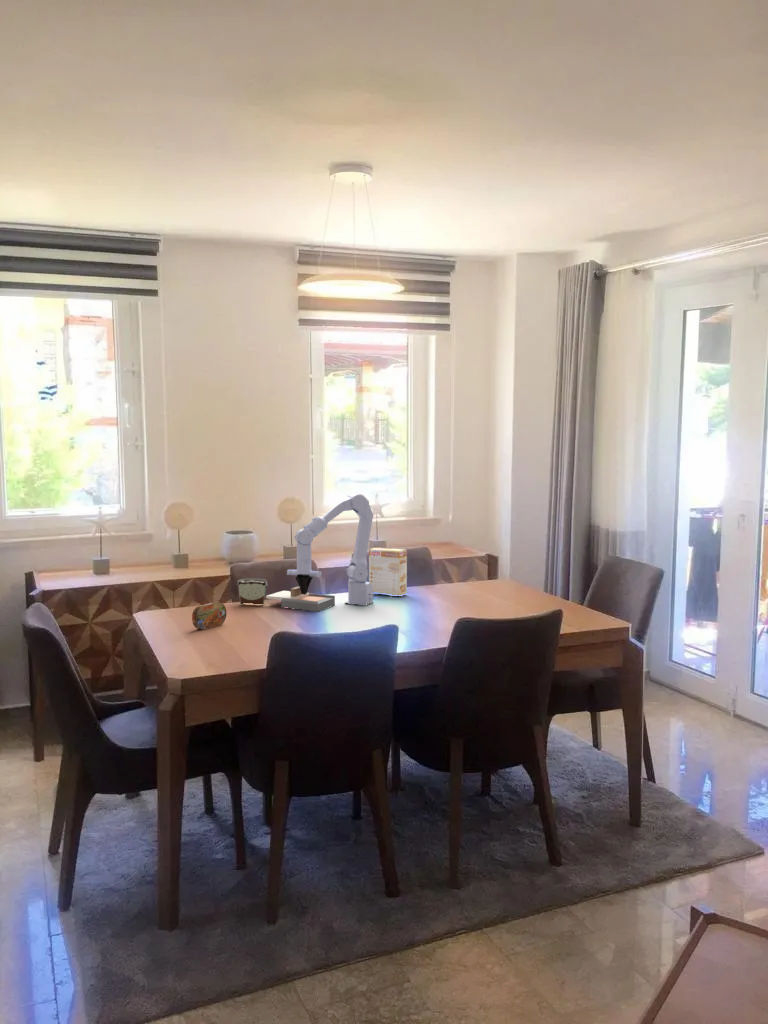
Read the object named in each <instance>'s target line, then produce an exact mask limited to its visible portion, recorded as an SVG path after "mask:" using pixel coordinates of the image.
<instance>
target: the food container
mask: <svg viewBox="0 0 768 1024" xmlns="http://www.w3.org/2000/svg"><path fill="white" fill-rule="evenodd" d="M236 586H237V587H238V596H239V604H243V603H253V604H264V605H265V598H266V590H267V589H266V588H267V587H268V586H269V585H268V581H267V579H264V578H242V579H238V580H237V583H236ZM266 586H267V587H266Z"/></svg>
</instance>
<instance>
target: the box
mask: <svg viewBox="0 0 768 1024" xmlns="http://www.w3.org/2000/svg"><path fill="white" fill-rule="evenodd" d="M308 593H309V596H306V597H303V598H300V599H286V598H281V600H280V601H281V608H282V607H288V608H294V609H293V610H295V609H302V610H301V611H305V610H309V611H308V612H315V611H318V612H321V611H323V609H324V610H325V608H326V609H329V608H331V607H330V606H332V607H333V605H334V606H335V605H336V602H335V599H336V598H335V597H336V596H335V595H332V594H331V595H330V594H320V593H310V592H308ZM328 607H329V608H328ZM320 610H321V611H320Z"/></svg>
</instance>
